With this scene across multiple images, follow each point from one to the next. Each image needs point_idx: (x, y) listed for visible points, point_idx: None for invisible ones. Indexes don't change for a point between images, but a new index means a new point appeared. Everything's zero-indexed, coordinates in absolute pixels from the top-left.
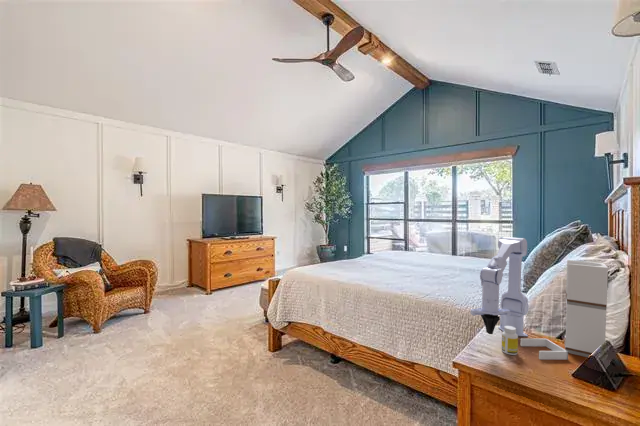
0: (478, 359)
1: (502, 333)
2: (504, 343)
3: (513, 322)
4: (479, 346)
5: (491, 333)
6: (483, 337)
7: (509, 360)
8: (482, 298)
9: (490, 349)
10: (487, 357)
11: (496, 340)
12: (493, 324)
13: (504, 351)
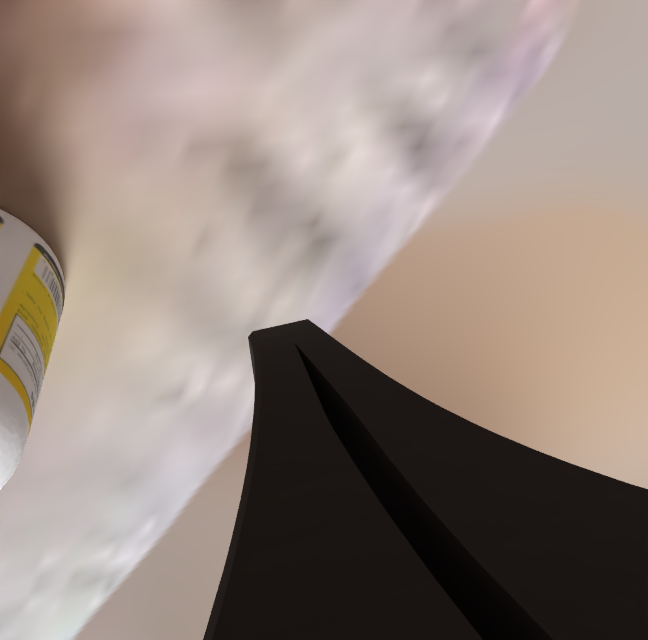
0: (411, 45)
1: (15, 442)
2: (20, 299)
3: None
4: None
5: (277, 330)
6: (169, 491)
7: (21, 22)
8: None
9: (187, 298)
10: (295, 103)
11: (61, 483)
12: (336, 470)
13: (41, 245)
